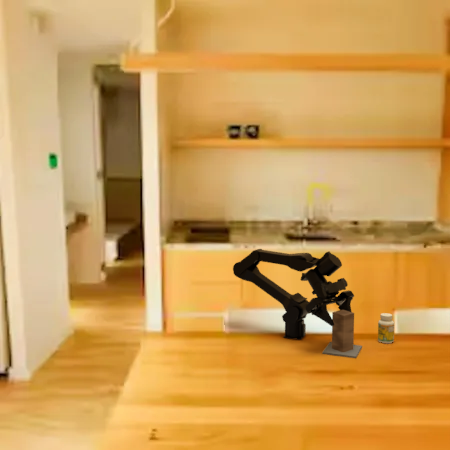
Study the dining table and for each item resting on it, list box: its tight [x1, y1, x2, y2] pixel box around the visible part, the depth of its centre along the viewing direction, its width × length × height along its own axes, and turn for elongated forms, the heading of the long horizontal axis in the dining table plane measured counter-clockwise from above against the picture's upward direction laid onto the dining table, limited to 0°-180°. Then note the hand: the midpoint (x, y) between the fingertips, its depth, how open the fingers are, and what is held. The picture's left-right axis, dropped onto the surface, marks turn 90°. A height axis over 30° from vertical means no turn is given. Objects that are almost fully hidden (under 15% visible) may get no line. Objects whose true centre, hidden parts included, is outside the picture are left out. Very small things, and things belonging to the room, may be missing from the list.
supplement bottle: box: [377, 312, 395, 344], centre depth 205 cm, size 5×5×10 cm
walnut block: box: [331, 309, 355, 352], centre depth 196 cm, size 5×5×12 cm
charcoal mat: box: [322, 341, 363, 359], centre depth 197 cm, size 11×11×1 cm
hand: (342, 323), depth 196 cm, fingers open, 9 cm apart
